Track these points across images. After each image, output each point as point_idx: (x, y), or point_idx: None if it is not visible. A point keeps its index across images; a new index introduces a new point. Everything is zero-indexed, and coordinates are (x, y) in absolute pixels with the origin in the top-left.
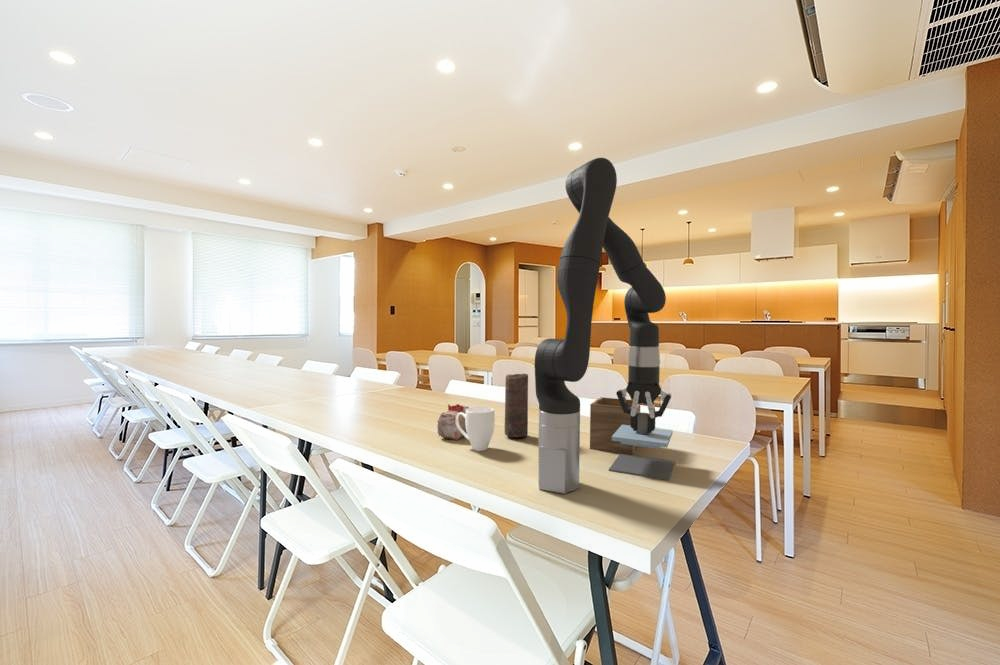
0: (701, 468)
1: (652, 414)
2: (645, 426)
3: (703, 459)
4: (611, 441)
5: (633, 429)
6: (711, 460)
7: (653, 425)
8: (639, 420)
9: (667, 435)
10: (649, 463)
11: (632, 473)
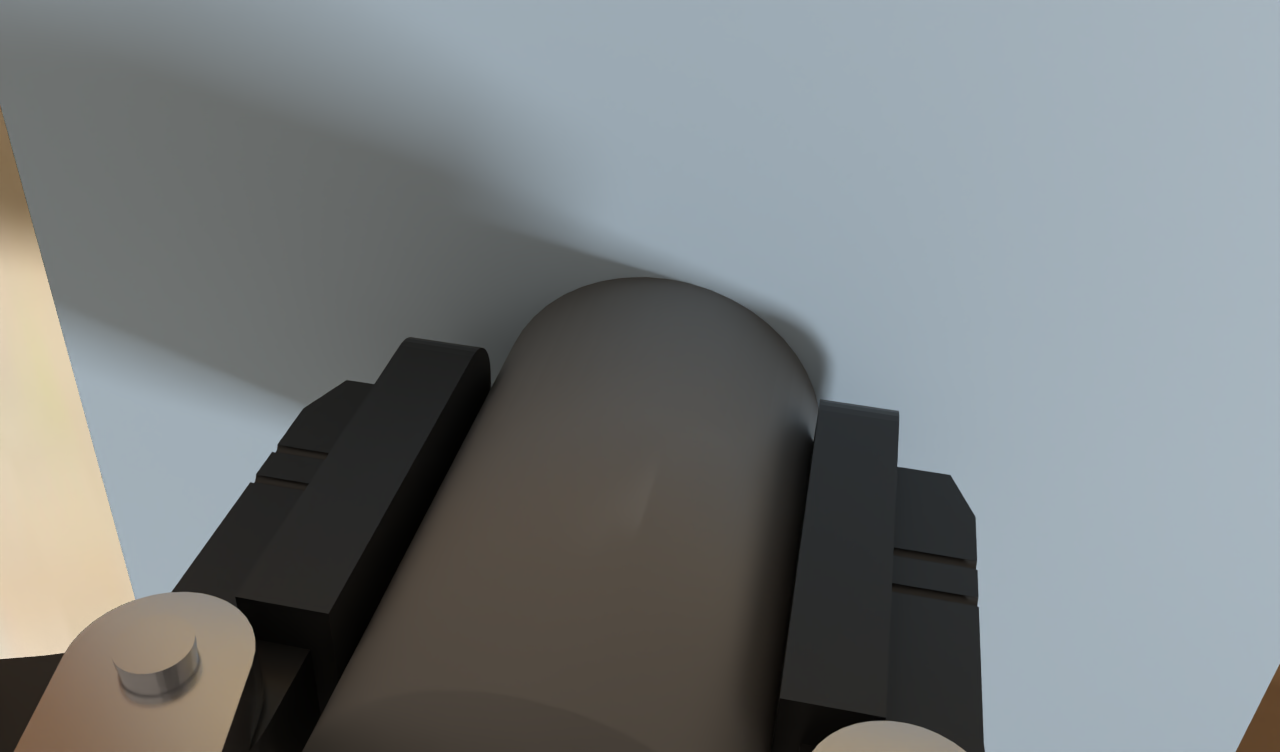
0: (43, 265)
1: (116, 709)
2: (514, 420)
3: (116, 555)
4: (1275, 706)
5: (889, 415)
6: (41, 544)
7: (293, 476)
8: (666, 569)
9: (129, 383)
10: None
11: None
